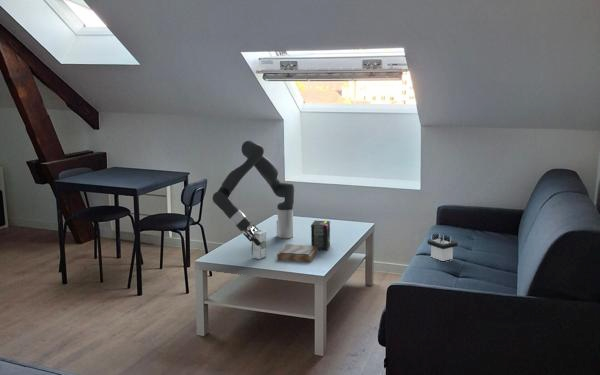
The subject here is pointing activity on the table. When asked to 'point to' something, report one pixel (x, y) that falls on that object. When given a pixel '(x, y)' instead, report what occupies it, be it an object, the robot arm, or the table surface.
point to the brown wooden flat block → (297, 253)
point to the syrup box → (259, 250)
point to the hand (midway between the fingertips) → (261, 242)
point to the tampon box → (320, 234)
